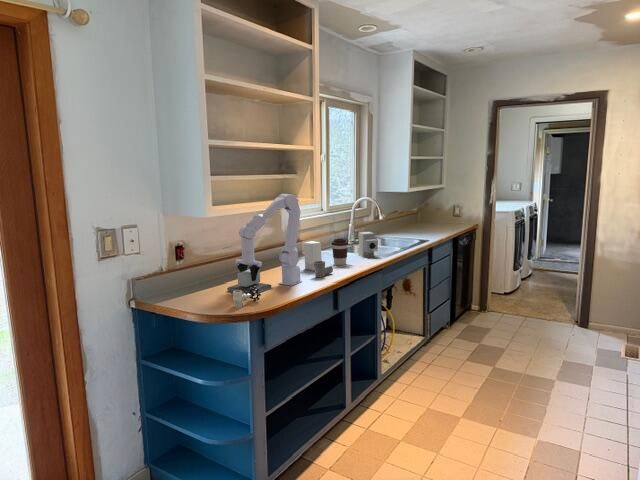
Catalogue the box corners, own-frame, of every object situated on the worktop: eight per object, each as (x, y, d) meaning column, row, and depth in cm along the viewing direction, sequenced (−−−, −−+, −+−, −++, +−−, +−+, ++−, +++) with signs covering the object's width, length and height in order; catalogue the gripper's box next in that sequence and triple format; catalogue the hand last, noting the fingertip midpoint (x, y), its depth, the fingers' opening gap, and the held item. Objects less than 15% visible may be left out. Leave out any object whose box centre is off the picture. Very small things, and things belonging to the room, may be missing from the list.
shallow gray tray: (247, 284, 218) (247, 280, 218) (271, 288, 210) (271, 284, 210) (227, 291, 206) (227, 287, 206) (252, 295, 199) (252, 291, 198)
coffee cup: (329, 265, 260) (329, 240, 258) (334, 262, 270) (334, 237, 267) (345, 266, 257) (345, 240, 255) (350, 263, 266) (350, 238, 264)
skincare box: (322, 269, 250) (321, 242, 247) (313, 271, 246) (312, 243, 243) (313, 267, 256) (312, 240, 254) (304, 268, 252) (303, 241, 250)
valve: (240, 309, 179) (261, 302, 188) (239, 293, 178) (260, 287, 187) (229, 306, 183) (250, 299, 192) (228, 291, 182) (249, 285, 191)
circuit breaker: (368, 258, 278) (368, 235, 276) (358, 255, 292) (358, 232, 289) (378, 257, 281) (379, 234, 279) (368, 254, 294) (368, 231, 292)
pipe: (335, 274, 237) (334, 259, 236) (318, 278, 228) (318, 263, 227) (326, 272, 241) (326, 258, 240) (310, 277, 232) (309, 262, 231)
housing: (252, 280, 213) (251, 267, 212) (260, 282, 211) (259, 268, 210) (238, 285, 205) (237, 271, 204) (246, 286, 202) (245, 272, 201)
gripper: (230, 251, 206) (231, 280, 208) (254, 254, 199) (255, 283, 201) (240, 249, 212) (241, 277, 214) (264, 251, 204) (265, 280, 207)
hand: (249, 280), depth 208 cm, fingers closed on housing, 5 cm apart
